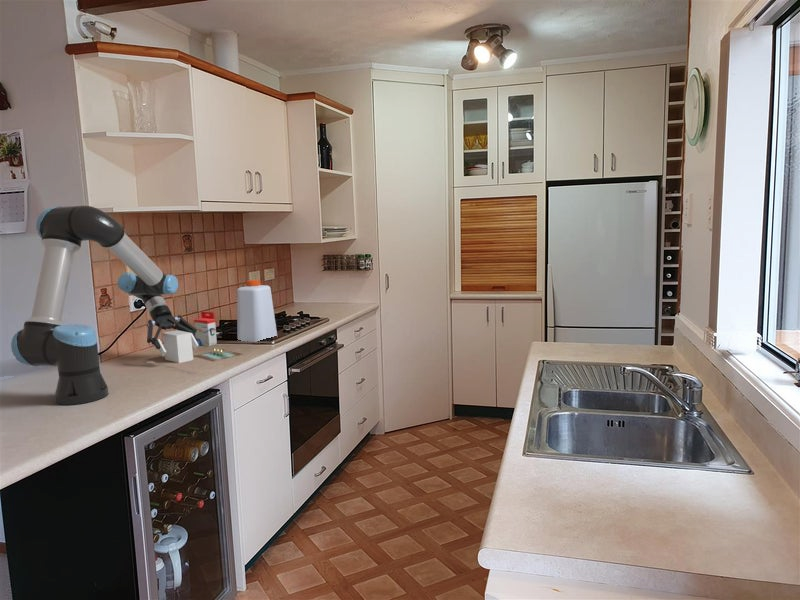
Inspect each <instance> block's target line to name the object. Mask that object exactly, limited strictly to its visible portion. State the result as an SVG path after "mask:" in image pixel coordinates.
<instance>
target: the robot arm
mask: <svg viewBox="0 0 800 600" xmlns="http://www.w3.org/2000/svg"><path fill="white" fill-rule="evenodd" d="M35 228H36V231H38V232H37V234H38V236H39V237H40V238H41V241H40V242H41V244H42V245H43V247H44V253H43V256H42V262H41V267H40V273H39V276H38V280H37V281H38V282H37V286H36V291H35V292H36V293H35V297H34V302H33V307H32V311H31V317H30V318H28V319H27V320H25V321H24V323H23V329H20V330H18V331H17V332H16V333H14V335H13V336H12V339H11V342H10V343H11V344H10V347H11V352H12V355H13V356H14V357H15V359H16V360H17V361H18V362H19V363H20V364H22V365H26V366H32V367H33V366H34V367H39V366H44V367H45V366H46V367H47V366H49V367H50V366H51V367H57V372H58V380H57V385H56V389H55V393H54V399H55V400H54V401H55V403H56V404H58V405H65V406H66V405H67V406H71V405H79V404H80V405H81V404H86V403H91V402H95V401H98V400H101V399H104V398H105V397H107V396H108V395H109V393H110V392H109V387H108V384H107V382H106V381H105V379H104V377H103V375H102V373H101V368H100V359H99V348H98V338H97V334H96V331H95V329H94V327H92V326H90V325H86V324H71V323H70V324H65V323H63V322H62V319H63V313H64V309H65V308H64V307H65V304H66V299H67V293H68V287H69V282H70V277H71V272H72V267H73V262H74V257H75V253H76V252H78V251H79V250H81V246H82V242H83V241H92V242H96V243H97V244H99V245H100V246H101V247H102V248H104V249H109V251H111V253H113V254H114V255H115V256H116V257H117V258H118V259H119V260H120V261H121V262H122V263H123V264H124V265H126V267H128V269H130V270H131V271H132V272H133V273H131V272H124V273H122V274H121V275H120V276H119V277H118V279H117V286H118V289H120V290H121V292H124V293H126V294H129V295H131V296H132V297H133V296H134V297H136V298H138V299H140V300H142V303H143V304H144V306H145V308H146V310H147V312H148V313H149V316H150V318H151V319H149V320H147V323H146V325H147V336H146V343H147V344H150V343H151V345H153V346H154V348H155V349H156V350H159V353H160V354H161V357H165V354H166V350H165V348H164V344H163V342H162V341H161V339H160V338H159V339H158V337H159V336H160V333H161V330H163V331H164V330H165V331H166V330H171V329H173V330H179V331H184V332H189V333H191V339H192V348H193V350H194V351H196V350H198V348H199V346H200V345H198V343H197V341H196V340H197V338H196V336H195V333H196V331H197V329H196V328H195V326H193V325H192V324H191V323H189V322H188V321H187V320H186V319H184V317H182V315H181V314H179V315H177V316H173V314H172V311H171V310H170V309H171V308H169V306H168V304H167V302H166V301H165V299H164V297H163V295H165V296H166V295H172V294H175V293H176V292H177V291H178V287H179V281H178V278H177V277H176V276H175V275H172V274H165V272H164V271H162V270H161V268H160V267H159V266H157V265H156V263H155V262H153V261H152V260H151V258H150V257H149V256H148V255H147V254H145V252H144V251H143V250H142V249H141V248H140V247H139V246H138V245H137V244H136V243H135V242H134V241H133V240H132V239H131V238H130V237H129V236H128V235H127V234H126V229H125V227H124V226H123V225H122V224H120V222H118V220H117V219H115V218H114V217H112V216H111V215H109V214H108V213H106V212H105V211H103V210H101V209H100V208H97V207H94V206H91V205H75V206H55V207H49V208H46V209H44V210H43V211H41V212H40V213H39V215H38V217H37V219H36V225H35ZM154 326H155V327H157V330H156V332H155V335H154V337H153V329H154Z"/></svg>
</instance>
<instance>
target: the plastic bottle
mask: <svg viewBox="0 0 800 600" xmlns="http://www.w3.org/2000/svg"><path fill="white" fill-rule="evenodd" d="M271 289H272V288H271V287H270V285H267V284H266V285H263V284H261V280H260V279H248V280H246V285H245V286H241V287H238V288H237V289H236V307H237V308H236V314H237V315H236V320H237V321H236V322H237V324H236V327H237V329H236V331H237V337H236V338H237V339H238V340H241V341H245V342H247V341H248V342H257V341H260V340H263V339H266V338H271V337H274V336H277V337H278V331H277V323H276V318H275V317H276V316H275V310H274V302H273V296H272V290H271ZM238 340H237V341H238Z"/></svg>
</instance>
